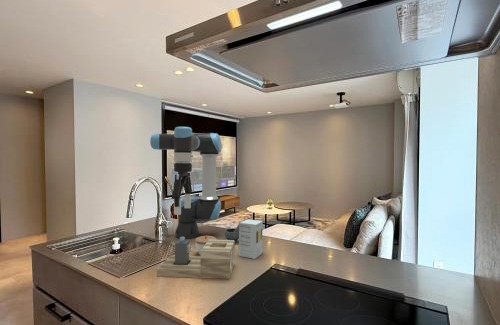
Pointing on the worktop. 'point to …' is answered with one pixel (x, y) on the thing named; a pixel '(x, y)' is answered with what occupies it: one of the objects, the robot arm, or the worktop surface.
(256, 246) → the supplement box
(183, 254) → the plug
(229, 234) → the mortar and pestle
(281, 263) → the worktop surface
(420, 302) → the worktop surface
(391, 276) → the worktop surface
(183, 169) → the robot arm
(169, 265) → the dock
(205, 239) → the lidded jar
